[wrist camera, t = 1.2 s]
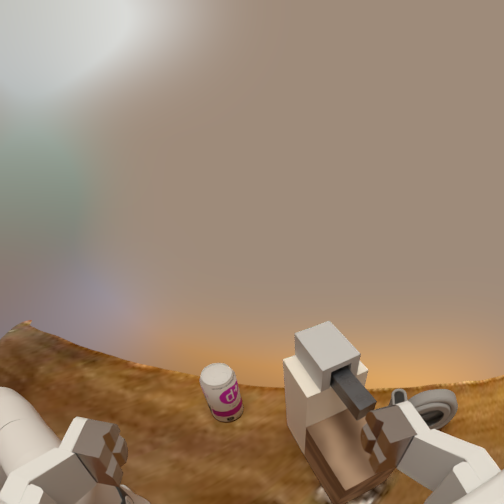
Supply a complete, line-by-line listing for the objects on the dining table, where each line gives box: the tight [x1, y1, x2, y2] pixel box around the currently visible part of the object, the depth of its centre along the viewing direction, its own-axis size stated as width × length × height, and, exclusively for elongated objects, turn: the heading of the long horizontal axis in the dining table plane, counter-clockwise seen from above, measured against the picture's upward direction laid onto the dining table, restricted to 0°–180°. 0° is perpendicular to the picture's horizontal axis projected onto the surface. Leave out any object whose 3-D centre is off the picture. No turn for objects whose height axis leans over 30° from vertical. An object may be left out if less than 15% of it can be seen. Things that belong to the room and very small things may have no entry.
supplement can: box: [200, 363, 244, 422], centre depth 63 cm, size 8×8×15 cm
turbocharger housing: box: [388, 389, 458, 430], centre depth 48 cm, size 17×6×15 cm, turn 76°
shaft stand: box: [283, 321, 368, 454], centre depth 51 cm, size 12×10×29 cm
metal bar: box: [330, 366, 377, 421], centre depth 44 cm, size 3×20×3 cm, turn 19°
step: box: [304, 409, 396, 504], centre depth 44 cm, size 12×16×14 cm
